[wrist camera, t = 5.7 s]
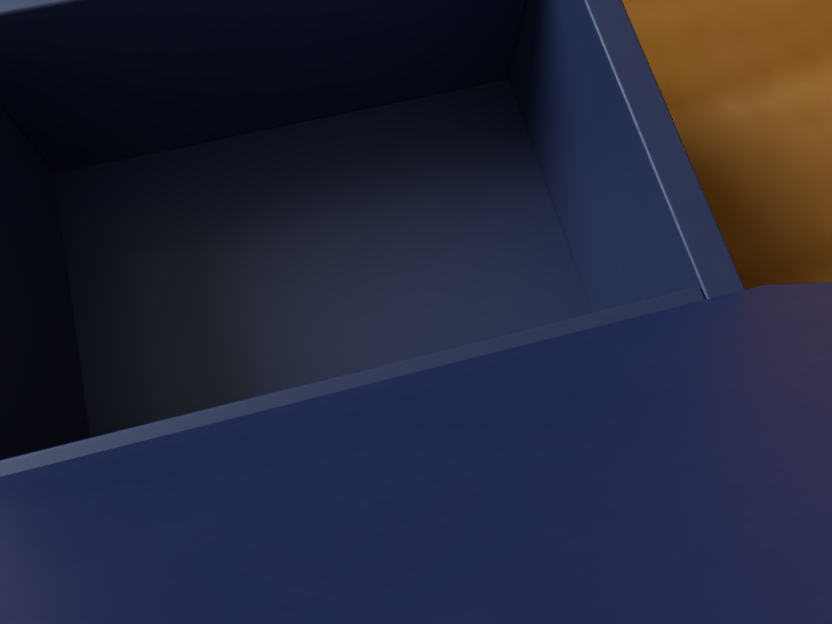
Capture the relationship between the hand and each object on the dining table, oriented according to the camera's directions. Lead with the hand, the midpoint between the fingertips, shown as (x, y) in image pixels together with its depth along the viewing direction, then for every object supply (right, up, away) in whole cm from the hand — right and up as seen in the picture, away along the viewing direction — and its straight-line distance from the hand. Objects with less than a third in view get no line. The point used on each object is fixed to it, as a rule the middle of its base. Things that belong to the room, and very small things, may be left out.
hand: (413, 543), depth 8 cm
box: (-2, +3, +13) cm, 14 cm away
